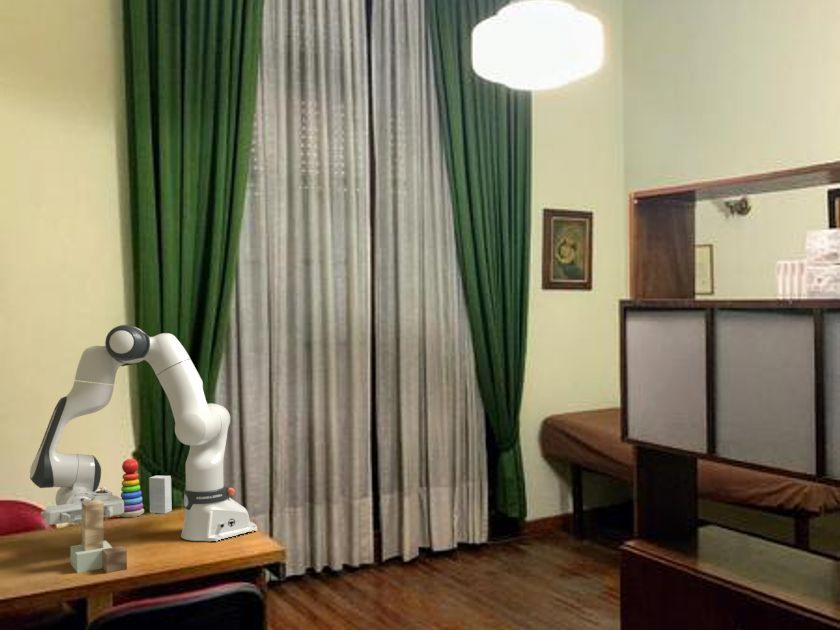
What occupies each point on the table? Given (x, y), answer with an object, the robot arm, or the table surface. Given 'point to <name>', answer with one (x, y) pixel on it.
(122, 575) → the table surface
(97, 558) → the plinth
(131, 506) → the stacking toy
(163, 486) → the skincare box
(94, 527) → the oak post
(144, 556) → the table surface
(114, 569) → the walnut block
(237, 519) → the robot arm
